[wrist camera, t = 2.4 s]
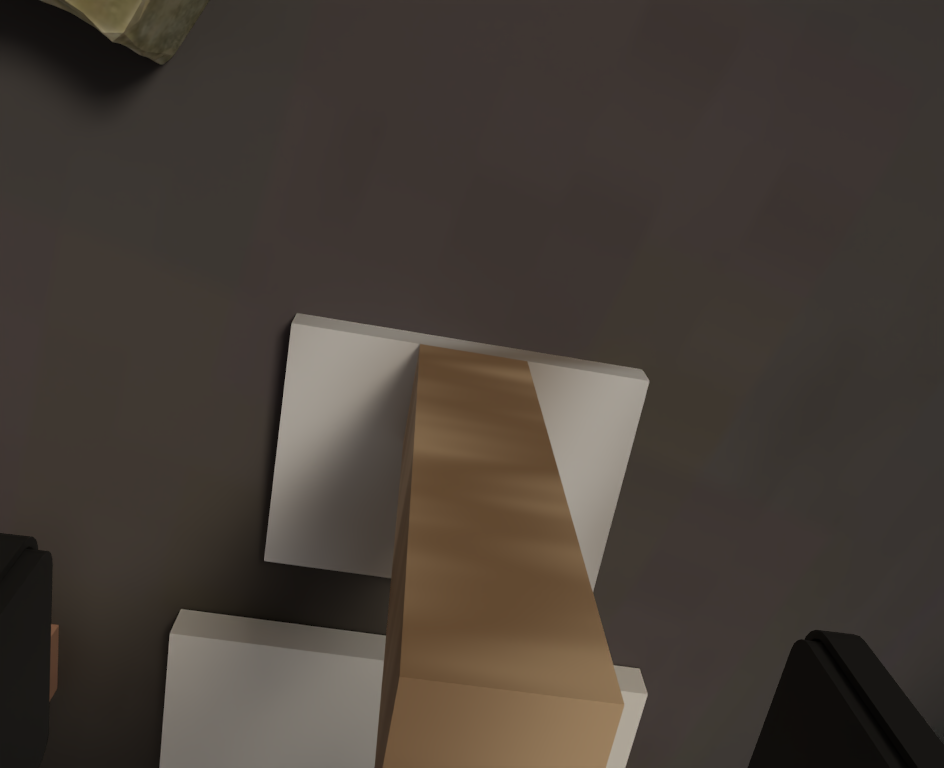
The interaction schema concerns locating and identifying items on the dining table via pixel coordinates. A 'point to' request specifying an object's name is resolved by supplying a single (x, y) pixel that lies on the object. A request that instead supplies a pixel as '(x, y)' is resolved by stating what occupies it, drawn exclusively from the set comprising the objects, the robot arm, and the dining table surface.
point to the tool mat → (293, 696)
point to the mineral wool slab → (139, 22)
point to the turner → (463, 531)
